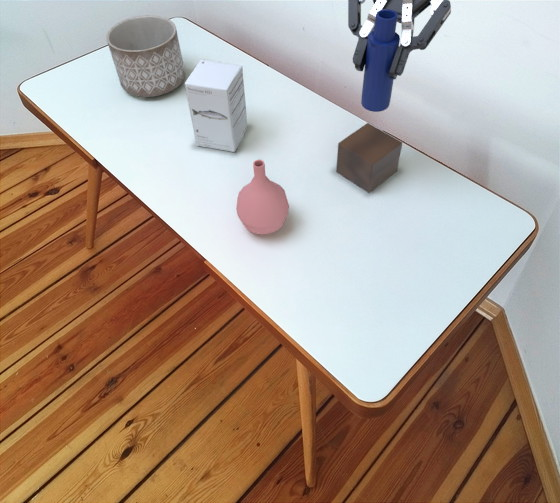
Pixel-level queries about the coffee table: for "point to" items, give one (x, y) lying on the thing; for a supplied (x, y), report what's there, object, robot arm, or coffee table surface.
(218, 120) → the white packaging box
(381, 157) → the block
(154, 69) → the planter
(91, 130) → the coffee table surface
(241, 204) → the pink bud vase
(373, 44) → the bottle
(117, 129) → the coffee table surface
